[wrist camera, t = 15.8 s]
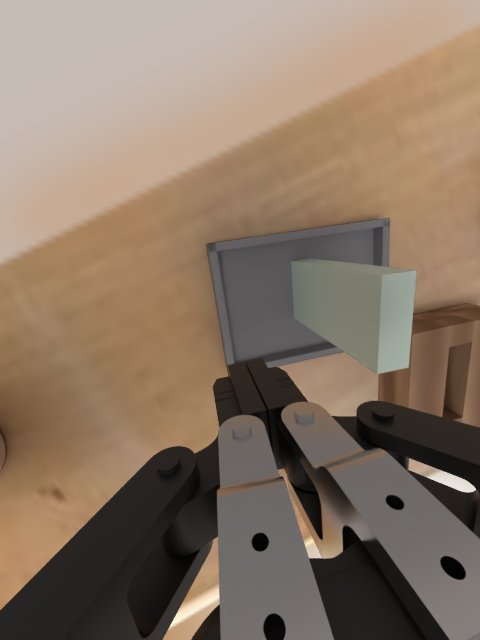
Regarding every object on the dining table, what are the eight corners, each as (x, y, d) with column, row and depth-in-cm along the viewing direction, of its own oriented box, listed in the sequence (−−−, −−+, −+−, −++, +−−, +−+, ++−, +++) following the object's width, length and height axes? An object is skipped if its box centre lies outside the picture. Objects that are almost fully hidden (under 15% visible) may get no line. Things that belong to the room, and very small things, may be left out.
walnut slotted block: (378, 423, 30) (406, 449, 26) (379, 321, 26) (412, 334, 23) (455, 403, 31) (492, 424, 28) (466, 303, 28) (510, 312, 24)
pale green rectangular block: (293, 317, 24) (377, 374, 14) (291, 260, 23) (381, 275, 12) (312, 314, 24) (408, 367, 14) (311, 258, 23) (416, 270, 13)
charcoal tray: (226, 368, 25) (229, 376, 23) (205, 244, 21) (207, 244, 20) (375, 336, 27) (386, 342, 25) (376, 219, 24) (389, 217, 22)
